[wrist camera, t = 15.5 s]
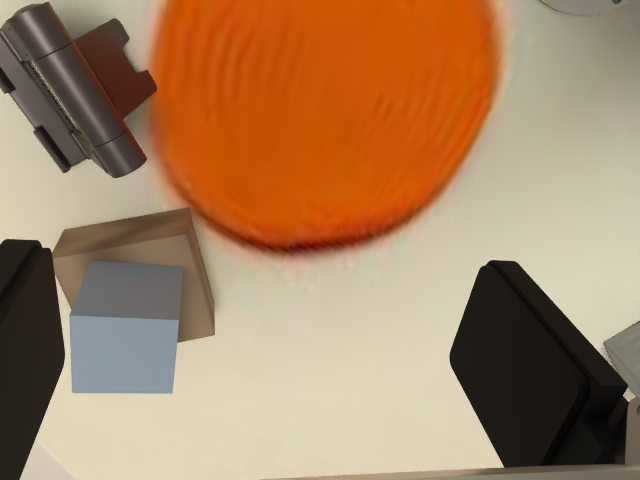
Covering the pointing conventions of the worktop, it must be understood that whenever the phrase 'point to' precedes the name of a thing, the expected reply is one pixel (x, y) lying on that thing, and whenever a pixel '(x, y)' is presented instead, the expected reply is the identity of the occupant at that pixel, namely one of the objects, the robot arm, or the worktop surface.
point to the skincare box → (627, 356)
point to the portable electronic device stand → (74, 88)
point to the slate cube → (125, 328)
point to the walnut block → (142, 260)
